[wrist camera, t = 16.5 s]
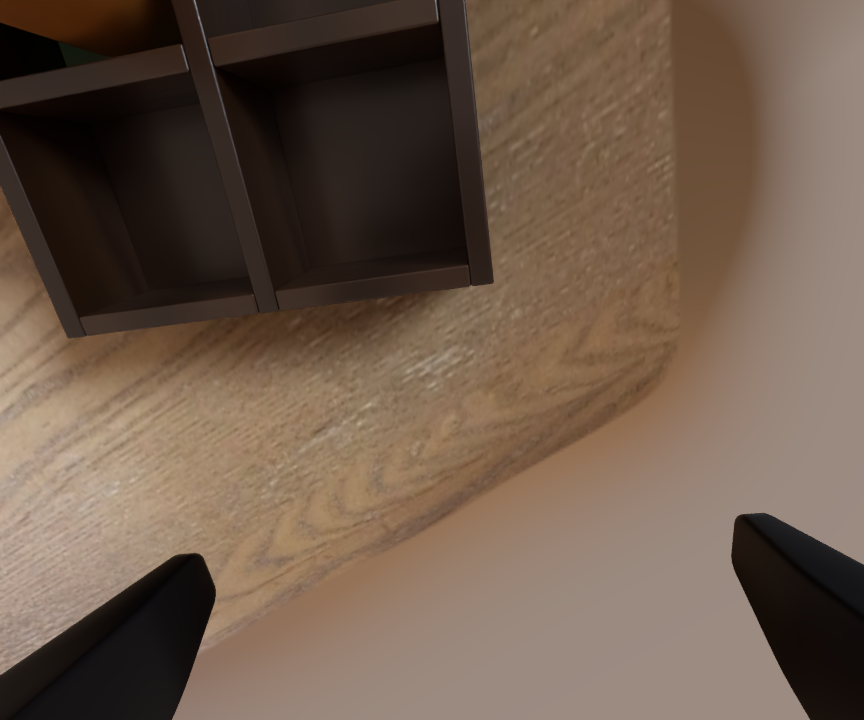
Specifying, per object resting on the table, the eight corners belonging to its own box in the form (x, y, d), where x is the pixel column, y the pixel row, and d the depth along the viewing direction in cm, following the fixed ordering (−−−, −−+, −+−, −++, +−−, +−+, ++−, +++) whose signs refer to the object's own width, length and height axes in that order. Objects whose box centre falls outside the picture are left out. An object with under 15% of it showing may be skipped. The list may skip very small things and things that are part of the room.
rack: (435, -247, 14) (421, -434, 10) (487, 259, 19) (494, 284, 15) (-11, -131, 16) (-191, -245, 11) (149, 304, 21) (66, 339, 16)
